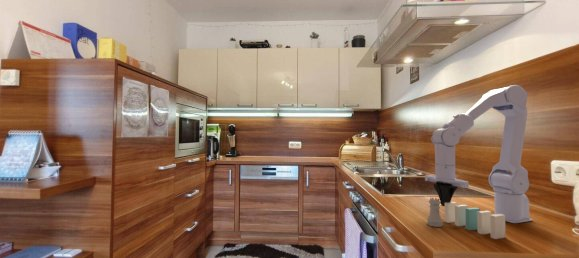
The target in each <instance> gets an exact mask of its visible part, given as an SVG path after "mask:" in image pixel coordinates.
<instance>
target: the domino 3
mask: <svg viewBox="0 0 579 258" xmlns="http://www.w3.org/2000/svg"><path fill="white" fill-rule="evenodd" d="M465 209H466V225H465V229H466V230H468V231H473V230H474V231H475V230H476V231H478V224H477V212H479V211H481V208H479V207H468V208H465Z"/></svg>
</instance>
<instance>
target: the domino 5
mask: <svg viewBox="0 0 579 258" xmlns="http://www.w3.org/2000/svg"><path fill="white" fill-rule="evenodd" d="M490 227H491V233H490V238H491V239H493V240H500V239H504V238H506V221H505V215H503V214H496V215H490Z"/></svg>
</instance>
